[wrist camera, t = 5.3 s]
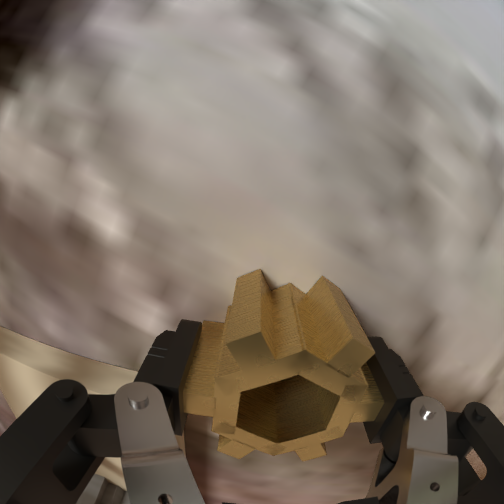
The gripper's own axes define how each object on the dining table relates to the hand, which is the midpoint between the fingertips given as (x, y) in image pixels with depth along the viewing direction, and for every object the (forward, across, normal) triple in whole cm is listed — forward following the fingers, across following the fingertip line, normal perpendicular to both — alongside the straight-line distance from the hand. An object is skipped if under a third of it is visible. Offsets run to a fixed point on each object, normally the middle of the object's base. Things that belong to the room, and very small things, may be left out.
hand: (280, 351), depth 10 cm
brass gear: (+1, 0, 0) cm, 1 cm away
